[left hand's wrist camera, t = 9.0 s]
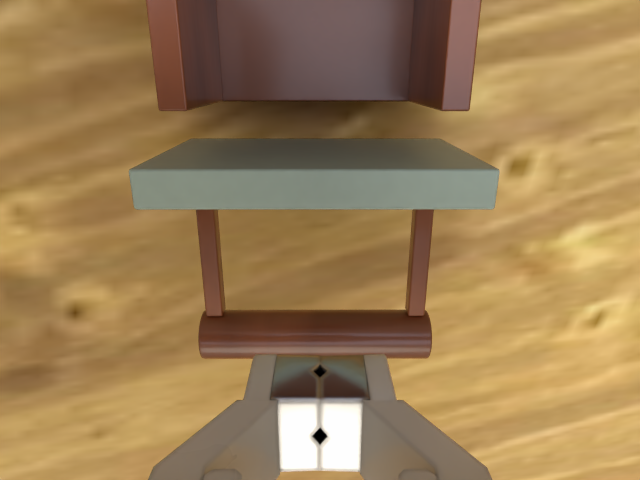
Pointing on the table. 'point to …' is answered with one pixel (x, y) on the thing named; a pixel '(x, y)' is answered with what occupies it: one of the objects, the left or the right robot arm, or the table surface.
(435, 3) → the drawer
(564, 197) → the table surface
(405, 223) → the table surface
